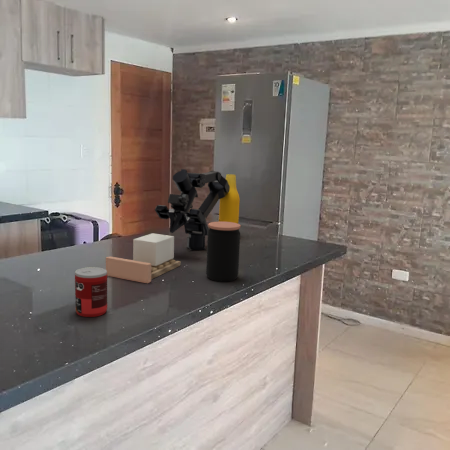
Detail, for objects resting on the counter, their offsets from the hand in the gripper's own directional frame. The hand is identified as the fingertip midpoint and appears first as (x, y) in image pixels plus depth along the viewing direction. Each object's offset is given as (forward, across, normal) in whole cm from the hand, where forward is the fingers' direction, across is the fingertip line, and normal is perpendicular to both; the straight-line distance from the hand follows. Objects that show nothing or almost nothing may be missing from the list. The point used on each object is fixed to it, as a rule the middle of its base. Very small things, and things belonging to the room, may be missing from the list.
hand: (171, 232), depth 171 cm
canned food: (+46, +8, -32) cm, 57 cm away
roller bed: (+18, 0, -4) cm, 18 cm away
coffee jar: (+15, +26, 0) cm, 29 cm away
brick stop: (+26, 0, -12) cm, 29 cm away
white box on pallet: (+14, 0, -3) cm, 14 cm away
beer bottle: (-25, +4, +40) cm, 47 cm away
